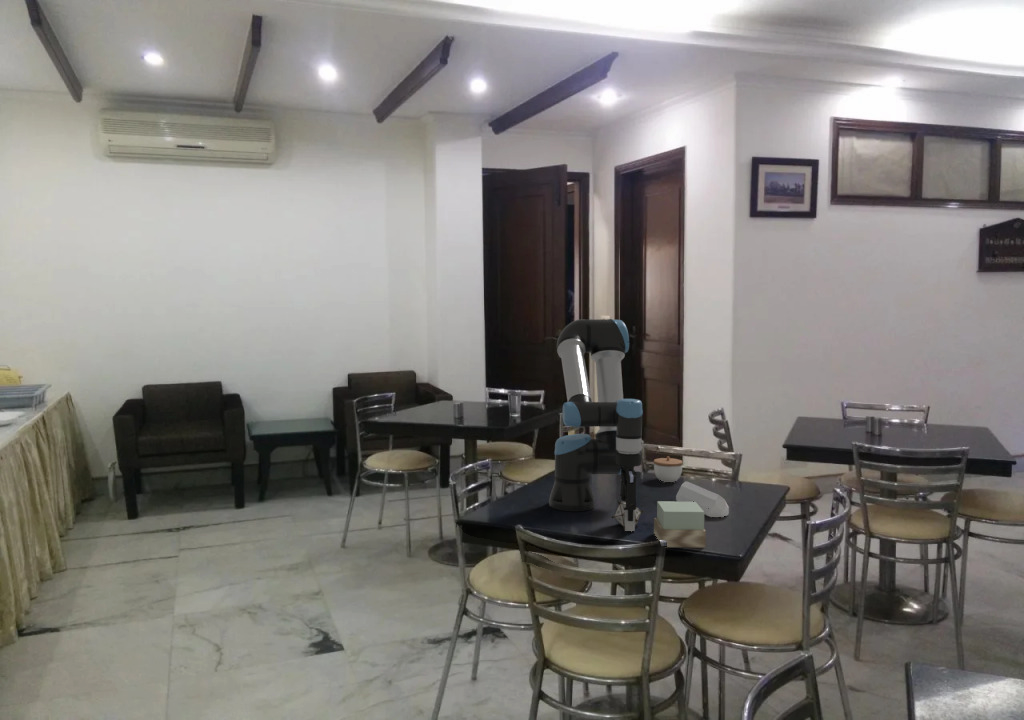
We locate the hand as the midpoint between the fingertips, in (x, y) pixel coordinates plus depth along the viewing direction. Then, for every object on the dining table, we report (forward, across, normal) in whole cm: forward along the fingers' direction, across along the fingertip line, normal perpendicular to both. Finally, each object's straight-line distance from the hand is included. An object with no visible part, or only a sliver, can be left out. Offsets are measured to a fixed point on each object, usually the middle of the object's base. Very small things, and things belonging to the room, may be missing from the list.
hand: (627, 526), depth 224 cm
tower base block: (+1, -12, -13) cm, 17 cm away
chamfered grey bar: (+1, +22, -27) cm, 35 cm away
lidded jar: (0, +61, -24) cm, 65 cm away
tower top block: (-4, -12, -13) cm, 18 cm away
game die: (0, 0, 0) cm, 0 cm away
